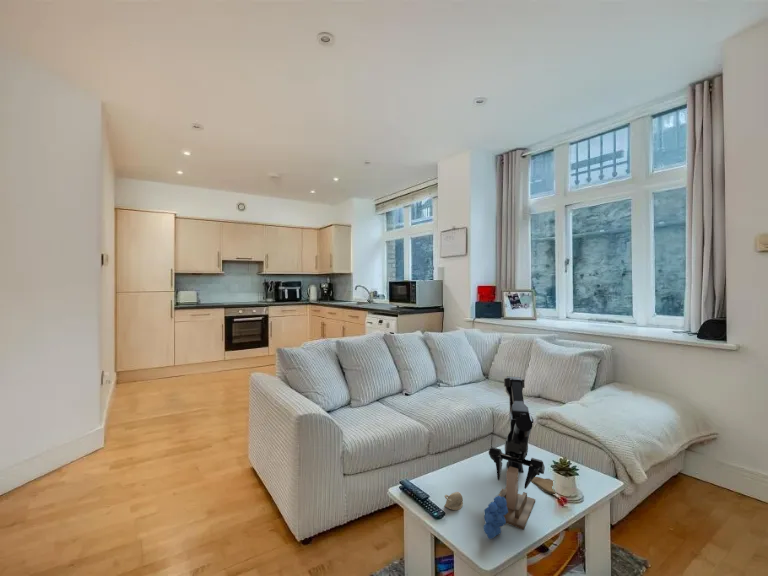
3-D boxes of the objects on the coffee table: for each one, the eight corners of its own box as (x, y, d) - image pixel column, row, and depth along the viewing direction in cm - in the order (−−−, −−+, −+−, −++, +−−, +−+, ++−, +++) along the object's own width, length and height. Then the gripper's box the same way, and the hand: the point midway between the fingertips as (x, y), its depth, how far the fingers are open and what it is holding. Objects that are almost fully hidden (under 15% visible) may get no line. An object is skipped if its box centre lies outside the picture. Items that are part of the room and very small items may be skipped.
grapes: (494, 520, 124) (494, 485, 123) (512, 530, 119) (513, 494, 118) (473, 535, 116) (473, 498, 116) (492, 547, 111) (492, 508, 111)
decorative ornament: (466, 507, 131) (466, 492, 131) (447, 513, 127) (447, 498, 127) (459, 501, 134) (459, 486, 134) (440, 507, 131) (440, 492, 130)
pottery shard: (526, 486, 147) (563, 502, 134) (525, 480, 147) (562, 495, 135) (537, 480, 151) (574, 494, 139) (537, 474, 152) (574, 487, 140)
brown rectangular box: (505, 507, 129) (506, 471, 129) (509, 501, 132) (509, 466, 132) (514, 510, 127) (515, 473, 127) (517, 504, 131) (518, 468, 130)
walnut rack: (502, 491, 141) (502, 480, 141) (535, 501, 134) (535, 491, 134) (487, 516, 126) (487, 504, 126) (523, 529, 119) (523, 517, 119)
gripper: (490, 425, 138) (480, 467, 129) (543, 438, 127) (536, 484, 118) (496, 438, 144) (487, 479, 135) (547, 451, 134) (540, 496, 125)
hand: (511, 484), depth 128 cm, fingers open, 9 cm apart
